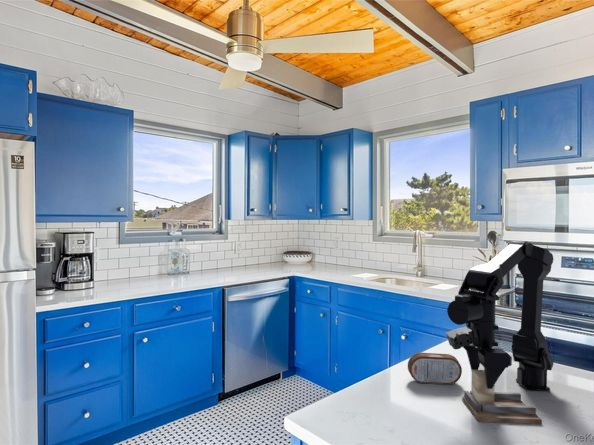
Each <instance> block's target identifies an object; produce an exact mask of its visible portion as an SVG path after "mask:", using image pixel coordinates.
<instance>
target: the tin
mask: <svg viewBox="0 0 594 445" xmlns="http://www.w3.org/2000/svg"><path fill="white" fill-rule="evenodd" d="M407 371H408V373H409V374H410V377H411V378H412V379H413V380H414V381H416V382H418V383H419V384H430V385H431V384H434V385H453V384H455V383H458V381H460V379H461V377H462V374H463V372H462V371H463V368H462V366H461V363H460V361H459V360H458V359H457V358H456V357H455V356H454V355H452V354H449V353H435V352H433V353H432V352H418V353H415V354H413V355H411V356H410V358H409V359H408V362H407Z"/></svg>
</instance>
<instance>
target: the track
mask: <svg viewBox="0 0 594 445" xmlns="http://www.w3.org/2000/svg"><path fill="white" fill-rule="evenodd" d="M469 391H470V392H469ZM461 400H462V402H463V403H464V405H465V406H466V407H467V409H468V410H469V411H470V412H471V413H472V415H473V416H474V417H475V419H476V420H477V421H478V422H485V423H486V422H488V423H510V424H512V423H514V424H537V425H538V424H539V425H542V423H543V420H542V418H541V417H540V416H538V414H537V407H536V406H535V405H527V404H526V403H524V401H523V400H522V394H521V393H520V392H512V391H511V392H510V391H509V392H508V391H507V392H506V391H505V392H503V391H494V404H481V406H480V404H479V403H478V402H477V401H476V400H475V399H474V397H473V396H472V390H464V391H463V396H462V397H461Z"/></svg>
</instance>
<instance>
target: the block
mask: <svg viewBox="0 0 594 445" xmlns="http://www.w3.org/2000/svg"><path fill="white" fill-rule="evenodd" d="M495 386H496V385H494V386H493V388H492V389H488V388H487V386H486V379H485V371H484V369H478V370H471V391H472V396H473V397H474V399H475V400H476V401H477V402H478V403H479V404H480V406H481V404H494V392H495Z"/></svg>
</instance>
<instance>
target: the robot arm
mask: <svg viewBox="0 0 594 445" xmlns="http://www.w3.org/2000/svg"><path fill="white" fill-rule="evenodd" d="M553 264H554V255H553V253H552V252H550V251H549V249H547V248H543V247H540V246H537V245H534V244H533V243H531V242H529V241H523V240H512V241H509V243H508V244H507V246H506V247H505V248H504V249H503V250H501V251H500V252H499V253H498V254H496V255H495V256H494V257H492V259H491V260H489V261H488V262H486V263H482V264H478V265H475V266H473V267H472V268H470V269H469V270H468V271H467V273H466V274H465V277H464V279H463V282H461V286H460V288H459V290H458V294H457V295H454V300H452V301H450V303H449V304H448V306H447V308H446V309H447V311H446V312H447V315H448V318H449V319H450V321H451V322H452V323H453V324H455V325H460V326H461V325H465V326H462V327H458V328H455V329H452V330H449V331H446V332H445V336H446V338H447V341H448V345H449V346H451V347H452V349H453V350H460V349H461V348H463V350H465V351H466V355H467V359H468V363H469V366H470V369H471V370H470V371H472V370H479V368H480V365H481V366H482V367H483V370H484V371H485V379H486V386H487V388H488V389H492V388H493V386H494V385H495V384H496V383H497V381H498V380H499V378H500V376H501V375H502V374H503V372H504V371H505V369H507V368H509V367H511V366H513V362H518V367H517V371H516V374H517V375H516V378H515V381H516V382H517V383H518V384H519V385H520V386H521V387H523V388H524V389H525V390H527V391H551V388H550V387H549V386H548V371H553V370H552V368H553V366H554V362H555V361H554V360H555V359H554V358H553V356H552V355H551V353H550V351H549V350H548V341H547V339H546V338H545V336H544V334H543V332H542V330H541V328H542V314H543V311H542V310H543V298H544V297H543V293H544V291H543V290H544V280H545V278H546V277H547V276H549V274H550V272H551V270H552V265H553ZM516 266H517V269H518V272H519V274H520V275H521V276H522V278H523V282H522V283H523V284H522V299H521V316H520V318H521V319H520V328H519V330H517V332H516V333H513V335H512V337H511V338H512V343H511V353H512V356H511V355H510V354H509V352H506V351H505V350H504V349H503V348H501V347H500V348H499V342H498V341H497V340H496V331H499V325H498V324H496V301H499V300H500V299H501V298H500V296H499V295H497V293H498V292H499V291H500V290H501V288H502V287H503V286H504V285H505V284H504V283H505V282H504V277H506V275H507V274H508V273H510V271H512V269H514V268H515V267H516ZM495 347H496V348H495ZM497 347H498V348H497ZM512 361H513V362H512ZM495 386H496V385H495Z"/></svg>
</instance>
